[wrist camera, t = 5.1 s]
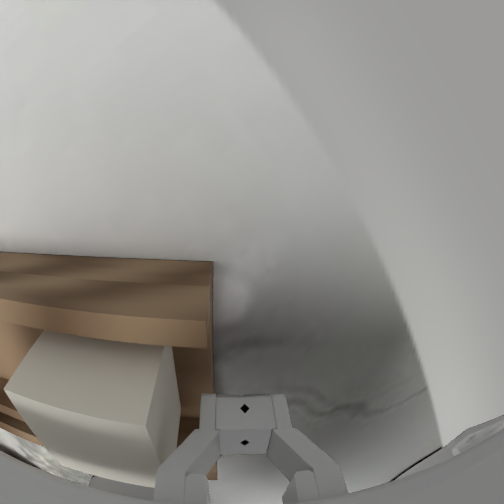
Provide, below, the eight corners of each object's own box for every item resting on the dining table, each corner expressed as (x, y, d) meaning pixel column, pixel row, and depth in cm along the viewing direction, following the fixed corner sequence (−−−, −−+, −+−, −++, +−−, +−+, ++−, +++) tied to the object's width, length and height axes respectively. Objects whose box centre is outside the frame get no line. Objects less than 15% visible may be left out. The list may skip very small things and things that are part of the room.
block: (169, 325, 10) (145, 426, 6) (181, 408, 12) (172, 490, 8) (56, 314, 10) (3, 389, 6) (86, 394, 12) (60, 464, 7)
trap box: (213, 261, 12) (206, 321, 8) (217, 458, 18) (217, 502, 14) (-83, 246, 9) (-114, 268, 6) (-14, 402, 15) (-30, 429, 12)
